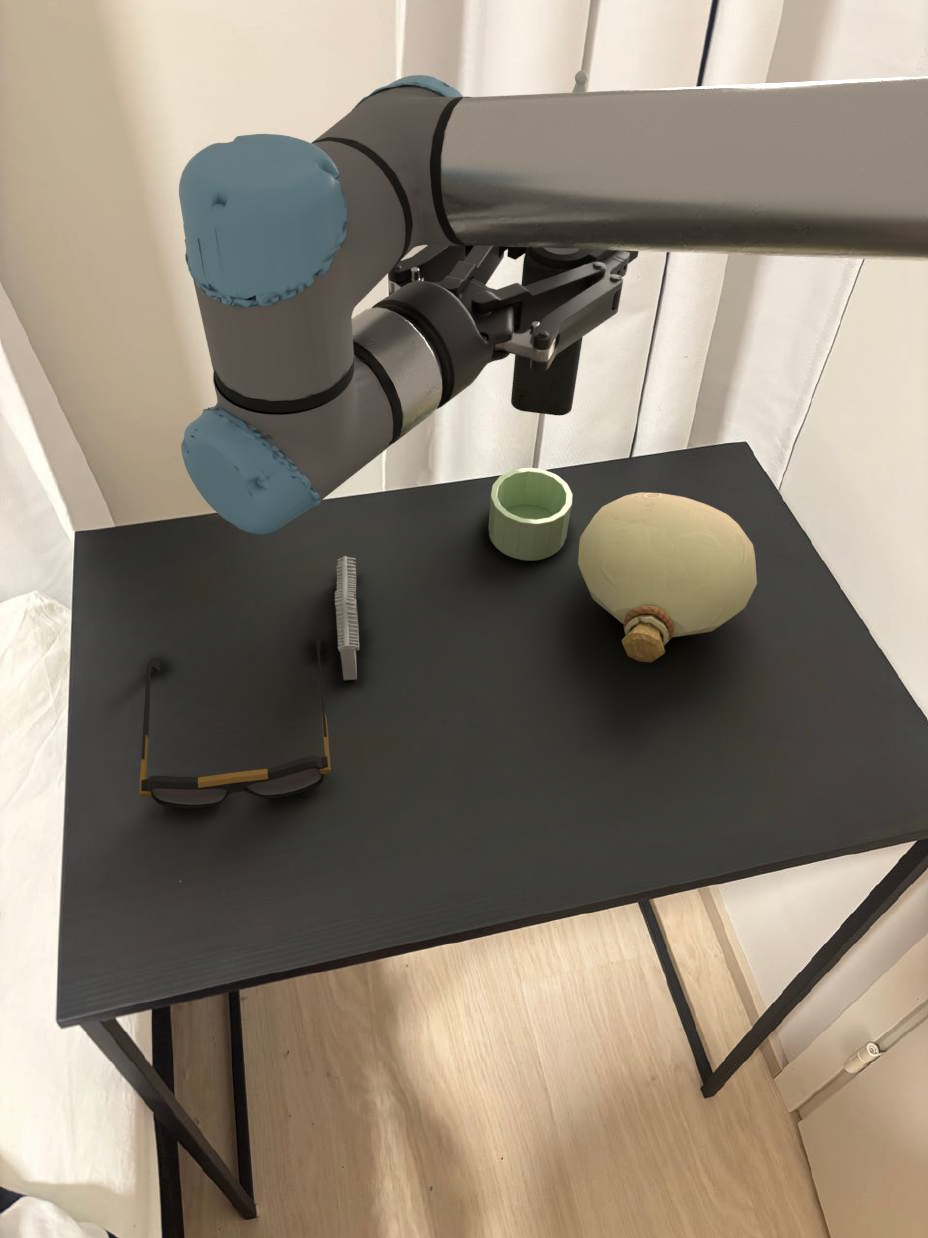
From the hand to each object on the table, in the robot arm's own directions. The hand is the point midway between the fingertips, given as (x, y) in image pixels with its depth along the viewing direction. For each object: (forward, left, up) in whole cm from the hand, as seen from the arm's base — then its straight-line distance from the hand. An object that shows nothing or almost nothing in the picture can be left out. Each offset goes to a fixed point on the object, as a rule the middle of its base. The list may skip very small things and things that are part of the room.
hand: (598, 223), depth 70 cm
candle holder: (+1, +5, -29) cm, 30 cm away
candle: (+1, +5, -13) cm, 14 cm away
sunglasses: (+10, +37, -30) cm, 49 cm away
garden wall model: (+9, +24, -30) cm, 39 cm away
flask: (-14, +8, -30) cm, 34 cm away
